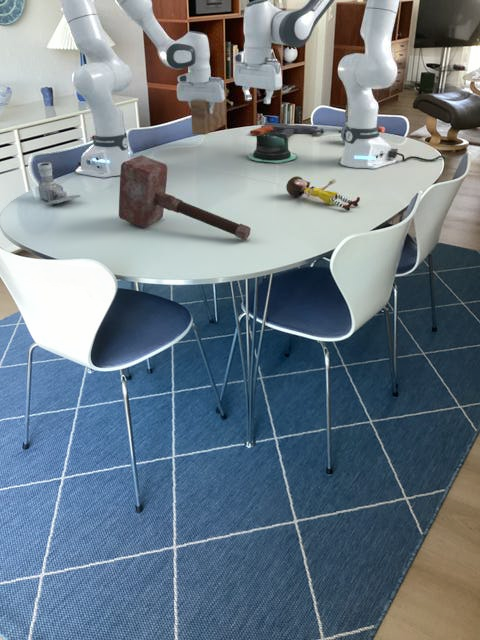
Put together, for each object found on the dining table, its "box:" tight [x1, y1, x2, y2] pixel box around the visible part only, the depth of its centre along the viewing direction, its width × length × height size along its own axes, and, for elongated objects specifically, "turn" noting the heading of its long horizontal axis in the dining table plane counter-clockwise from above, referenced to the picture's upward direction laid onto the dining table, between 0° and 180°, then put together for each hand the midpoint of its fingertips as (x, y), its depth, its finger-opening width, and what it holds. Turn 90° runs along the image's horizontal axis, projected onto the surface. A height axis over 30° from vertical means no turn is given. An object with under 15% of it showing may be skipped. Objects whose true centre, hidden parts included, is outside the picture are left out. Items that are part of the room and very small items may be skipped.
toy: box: [338, 121, 347, 142], centre depth 244 cm, size 9×9×15 cm
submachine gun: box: [249, 122, 325, 138], centre depth 263 cm, size 32×3×25 cm
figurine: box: [285, 176, 361, 211], centre depth 178 cm, size 13×8×25 cm
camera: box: [37, 161, 82, 205], centre depth 182 cm, size 9×12×15 cm
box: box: [190, 99, 227, 136], centre depth 234 cm, size 21×6×13 cm, turn 158°
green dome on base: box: [247, 132, 297, 164], centre depth 229 cm, size 15×19×20 cm
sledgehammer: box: [118, 154, 252, 241], centre depth 157 cm, size 17×10×40 cm
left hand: (201, 113), depth 228 cm, fingers closed on box, 6 cm apart
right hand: (257, 102), depth 187 cm, fingers open, 8 cm apart
